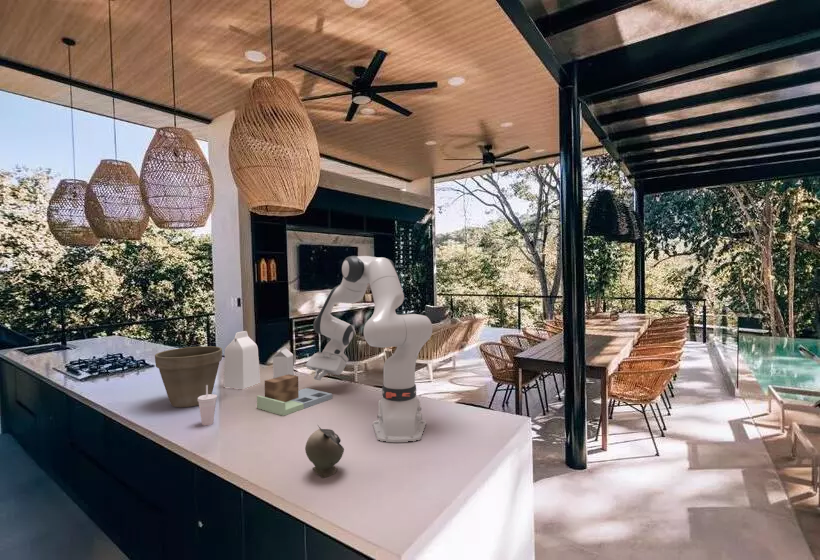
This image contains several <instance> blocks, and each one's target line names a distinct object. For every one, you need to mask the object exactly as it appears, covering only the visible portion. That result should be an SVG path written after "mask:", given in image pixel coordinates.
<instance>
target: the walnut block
mask: <svg viewBox="0 0 820 560" xmlns="http://www.w3.org/2000/svg"><path fill="white" fill-rule="evenodd" d="M298 391H299V376H298V375H295V374H294V375H290V374H288V375H284V376H280V377H277V378H273V377H272V378H269V379H265V380H264V397H267V398H271V399H275V400H279V401H283V402H287V401H290V400H293V399H296V398H299V395H298Z"/></svg>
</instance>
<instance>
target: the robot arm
mask: <svg viewBox="0 0 820 560" xmlns="http://www.w3.org/2000/svg"><path fill="white" fill-rule="evenodd" d="M341 274H342V280H341V282H340V284H339V285H337V286H334V287H333V288H332V289H331V291H330V292H329V293H328V296H327V297H326V299H325V301H324V303H323V305H322V307H321V310H320V311H319V313H318V315H317V317H316V318H315V319H314V321H313V325H312V327H313V330H314V332H315V333H316V334H319V335H321V336H325V337H326V338H329V339H330V340H329V341H328V342H327V343H326V345H325V346H324V349H322V352H321V351H317V352H316V353H315V352H314V354H312V356H310V358H309V360H307V362H306V363H305V367H307V369H308V370H309V371H315V374H314V376H313V379H314V380H316V381H321V380H322V378H324V377H325V376H326V375H327V374H331V375H337V376H340V375H341V374H342V373H343V371H344V370H345V367H346V365H347V363H348V362H349V361H350V360H349V358H348V356H347V355H346V353H345V350H346V348H347V347H348V346H349V344H351V342H352V340H353V339H354V336H355V328H354V326H353V325H352V324H350V323H348V322H346V321H344V320H341V319H339V318H338V317H335V316H333V314H331V313H332V310H333V309H334V306H335V305H336V304H339V303H341V304H354V303H357V302H360V301H361V300H362V299H363V298H364V296H365V293H366V291H367V290H368V289H367V288H368V284H369V287H370V290H371V293H372V298H373V299H372V300H373V303H374V310H373V314H371V317H370V318H369V319H367V320H366V322H365V324H364V326H363V337H364V339H365V341H366V343H367V344H368V345H369V346H370V347H374V348H381V349H382V348H393V347H395V348H396V349H395V350H394V353H393V354H392V355H390V356H389V357H388V358H387V359H386V360H385V361H384V364H383V384H382V388H381V393H382V395H381V396H382V397H381V398H380V399H379V400H378V409H377V410H378V414H377V416H376V417H377V419H376V420H374V421H372V427H373V429H374V432H375V436H376V438H377V440H378V441H379V440H380V442H383V441H386V442H385V443H409V442H408V441H413V442H416V440H418V441H420V440H421V439H422V437H423V435H424V432H425V429H426V426H427V421H426V420H424V419H423V414H422V413H421V412H422V406H421V400H420V399H419V398H418V397H417V385H416V376H415V375H416V363H417V359H418V355H419V353H420V351H421V350H422V349H423V346H425V344H426V343H427V342H428V341H429V340H430V338H431V337H432V334H433V324H432V321H431V319H430V318H429V317H428V316H427V315H424V314H416V313H407V314H405V313H404V314H397V312H396V310H397V309H398V308H399V307H400V306H401V305H403V302H404V300H405V295H404V294H405V293H404V291H403V288H402V285H401V281H400V279H399V276H398V273H397V271H396V267H395V263H394V262H393V260H391V259H389V258H386V257H382V256H381V257H376V256H370V255H360V256H359V255H358V256H357V255H351V256H350V255H349V256H347V257H345V259H344V260H343V262H342V265H341ZM425 425H426V426H425ZM424 428H425V429H424ZM423 431H424V432H423ZM422 434H423V435H422Z"/></svg>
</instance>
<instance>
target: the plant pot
mask: <svg viewBox="0 0 820 560" xmlns="http://www.w3.org/2000/svg"><path fill="white" fill-rule="evenodd" d="M222 360H223V348H222V347H220V346H211V345H209V346H207V345H206V346H205V345H204V346H192V347H191V346H190V347H189V346H187V347H180V348H174V349H167V350H164V351H163V350H162V351H161V352H157V353H156V354H155V355H154V361H155V367H156V368H157V369H158V370H159V374H160V377H161V380H162V382H163V383H162V384H163V385H164V388H165V392H166V394H167V398H168V401H169V403H170V405H171V406H172V407H174V408H189V407H190V408H191V407H196V406H199V402H198V401H197V400H198V397H200V396H202V395H206V385H208V394H213V391H214V387H215V383H216V378H217V375H218V370H219V365H220V362H221V361H222Z"/></svg>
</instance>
